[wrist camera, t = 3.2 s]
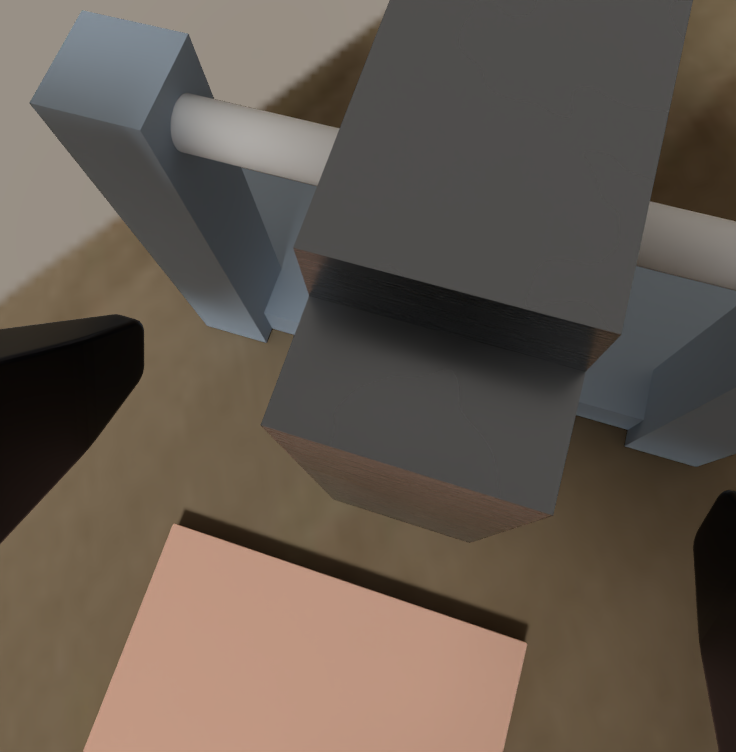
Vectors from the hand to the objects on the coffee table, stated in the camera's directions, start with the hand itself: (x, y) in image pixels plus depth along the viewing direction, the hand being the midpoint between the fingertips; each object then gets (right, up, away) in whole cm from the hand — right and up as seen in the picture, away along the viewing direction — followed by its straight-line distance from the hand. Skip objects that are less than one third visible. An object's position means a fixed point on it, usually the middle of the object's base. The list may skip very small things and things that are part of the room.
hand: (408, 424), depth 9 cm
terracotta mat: (-3, -9, +6) cm, 12 cm away
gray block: (+1, 0, +9) cm, 9 cm away
